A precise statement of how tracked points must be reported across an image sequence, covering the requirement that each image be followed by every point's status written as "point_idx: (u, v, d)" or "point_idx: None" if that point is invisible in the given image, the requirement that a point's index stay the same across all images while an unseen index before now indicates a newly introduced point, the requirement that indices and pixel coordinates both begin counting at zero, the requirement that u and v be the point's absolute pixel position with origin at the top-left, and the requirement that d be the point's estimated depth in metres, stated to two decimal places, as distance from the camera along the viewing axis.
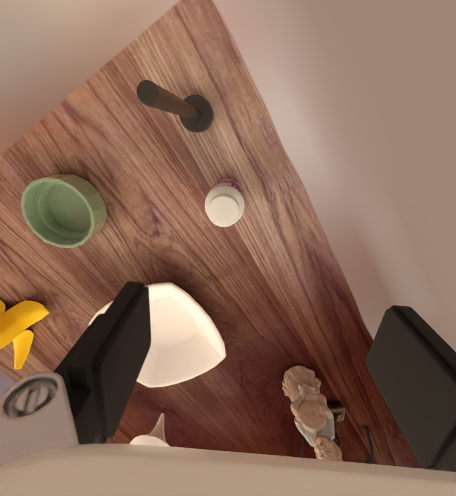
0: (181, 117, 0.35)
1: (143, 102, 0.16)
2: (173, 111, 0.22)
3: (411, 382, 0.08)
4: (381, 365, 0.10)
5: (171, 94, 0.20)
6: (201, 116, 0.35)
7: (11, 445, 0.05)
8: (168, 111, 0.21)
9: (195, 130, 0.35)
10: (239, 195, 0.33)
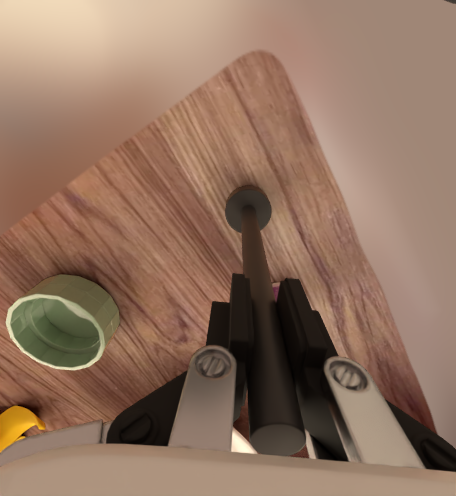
0: (228, 216, 0.25)
1: (263, 453, 0.07)
2: None
3: None
4: None
5: (278, 318, 0.10)
6: (256, 215, 0.25)
7: (192, 393, 0.06)
8: None
9: None
10: None
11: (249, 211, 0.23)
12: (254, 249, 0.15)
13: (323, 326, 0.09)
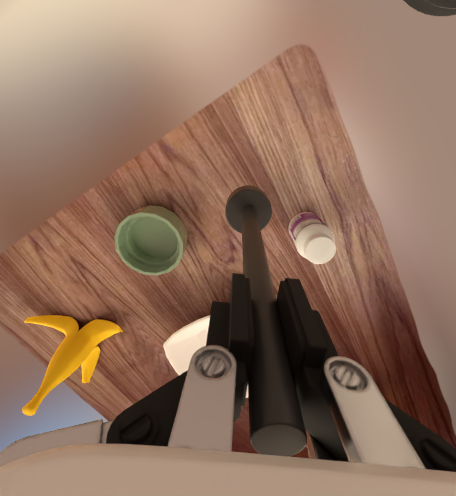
0: (228, 216, 0.25)
1: (264, 453, 0.07)
2: None
3: None
4: None
5: (278, 318, 0.10)
6: (256, 215, 0.25)
7: (192, 393, 0.06)
8: None
9: None
10: (331, 233, 0.35)
11: (249, 211, 0.23)
12: (255, 249, 0.15)
13: (323, 326, 0.09)
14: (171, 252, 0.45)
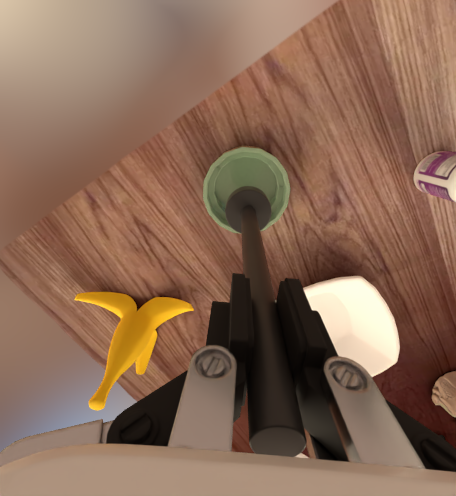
0: (228, 216, 0.25)
1: None
2: None
3: None
4: None
5: (278, 319, 0.10)
6: (256, 216, 0.25)
7: (192, 393, 0.06)
8: None
9: None
10: None
11: (249, 212, 0.23)
12: (254, 250, 0.15)
13: (323, 326, 0.09)
14: None
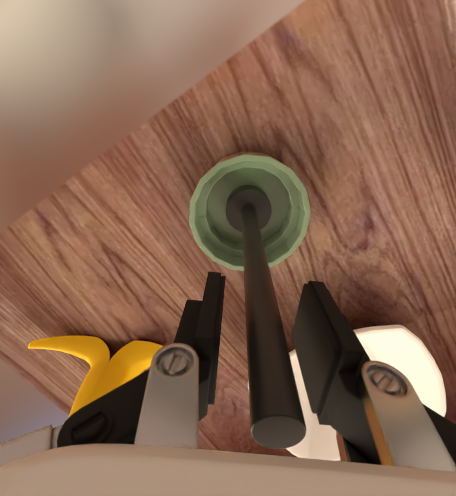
0: (228, 215, 0.25)
1: (264, 444, 0.07)
2: None
3: (311, 344, 0.09)
4: (299, 334, 0.11)
5: (278, 314, 0.10)
6: (256, 214, 0.25)
7: (155, 394, 0.06)
8: None
9: None
10: None
11: (249, 210, 0.23)
12: (255, 248, 0.15)
13: (351, 329, 0.09)
14: (268, 234, 0.28)
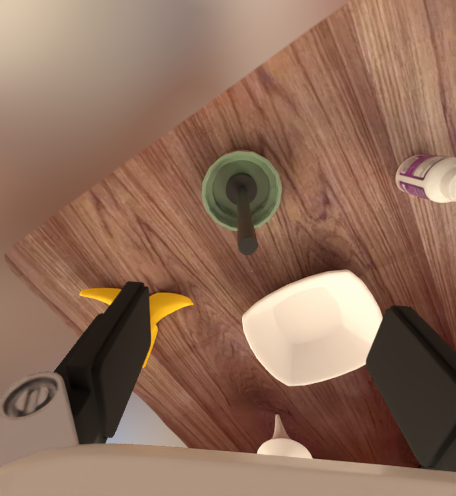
0: (228, 193, 0.37)
1: (242, 252, 0.18)
2: None
3: (411, 382, 0.08)
4: (381, 365, 0.10)
5: (252, 222, 0.22)
6: (247, 192, 0.37)
7: (11, 445, 0.05)
8: None
9: None
10: None
11: (242, 188, 0.34)
12: (243, 202, 0.27)
13: None
14: (256, 208, 0.39)
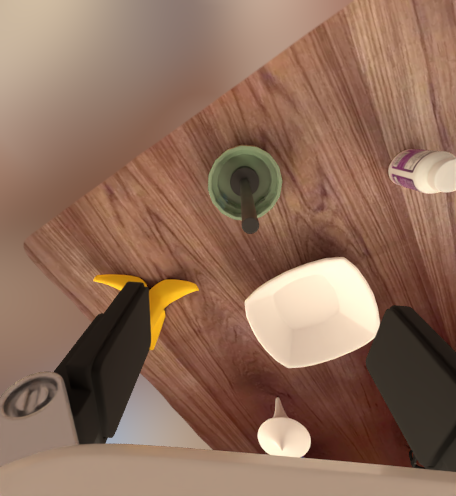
0: (232, 185, 0.40)
1: (246, 231, 0.21)
2: None
3: (411, 382, 0.08)
4: (381, 365, 0.10)
5: (254, 207, 0.25)
6: (249, 184, 0.39)
7: (11, 445, 0.05)
8: None
9: None
10: None
11: (245, 180, 0.37)
12: (246, 191, 0.30)
13: None
14: (258, 199, 0.42)
